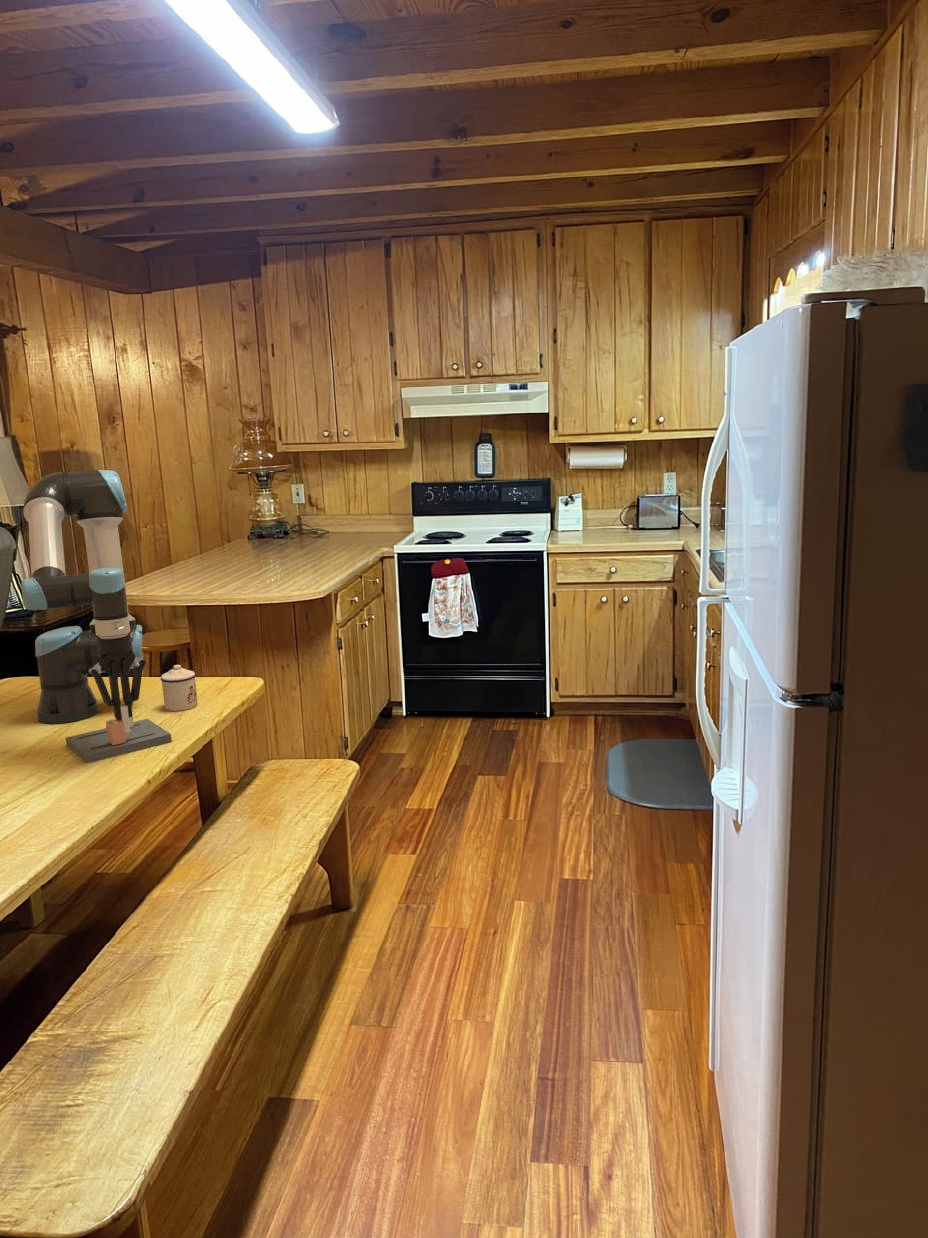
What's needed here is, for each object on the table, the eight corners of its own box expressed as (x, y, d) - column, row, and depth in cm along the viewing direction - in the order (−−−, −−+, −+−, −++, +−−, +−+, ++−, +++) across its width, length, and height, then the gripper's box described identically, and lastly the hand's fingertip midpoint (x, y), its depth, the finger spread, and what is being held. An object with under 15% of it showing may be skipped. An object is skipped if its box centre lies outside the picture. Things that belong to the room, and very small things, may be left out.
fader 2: (116, 726, 224) (114, 706, 223) (129, 723, 226) (126, 703, 225) (121, 729, 221) (119, 709, 220) (134, 726, 223) (131, 706, 222)
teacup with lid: (195, 710, 241) (191, 669, 239) (160, 713, 240) (156, 671, 238) (202, 697, 253) (198, 657, 251) (169, 699, 252) (165, 659, 250)
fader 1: (108, 741, 213) (105, 720, 212) (120, 738, 215) (118, 717, 214) (113, 745, 210) (110, 724, 209) (126, 742, 212) (123, 721, 211)
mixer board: (66, 745, 218) (65, 737, 218) (148, 726, 230) (147, 718, 230) (86, 763, 206) (85, 754, 205) (171, 741, 218) (170, 733, 218)
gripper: (89, 642, 201) (102, 742, 207) (147, 632, 209) (158, 728, 215) (79, 637, 207) (92, 734, 212) (135, 627, 215) (146, 721, 220)
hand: (125, 731), depth 213 cm, fingers closed
